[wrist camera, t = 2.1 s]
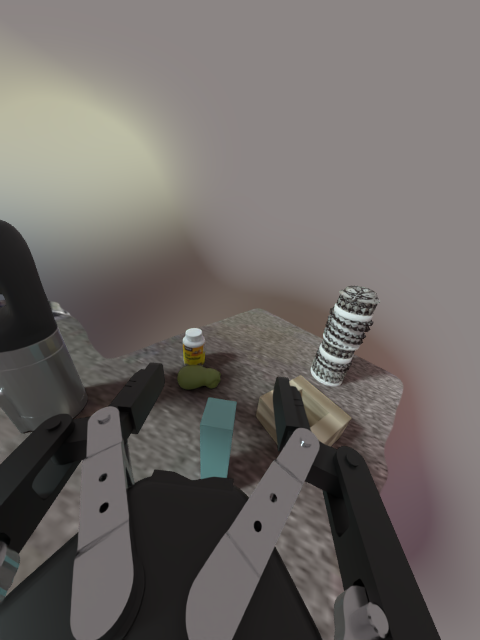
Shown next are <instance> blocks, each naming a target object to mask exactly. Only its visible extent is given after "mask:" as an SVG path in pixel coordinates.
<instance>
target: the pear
mask: <svg viewBox="0 0 480 640" xmlns="http://www.w3.org/2000/svg"><path fill="white" fill-rule="evenodd" d="M220 376H221V373H219V371H216V370H215V369H212V368H205V367H202V366H200V365H187V366H184V367H183V368H182V369H181V370H180V371H179V373H178V377H177V380H178V384H179V385H180V387H182V388H183V389H195V388H198V387H200V386H207V387H208V388H211V389H212V388H215V387H217V385H218V383H219V382H220Z"/></svg>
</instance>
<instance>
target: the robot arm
mask: <svg viewBox="0 0 480 640" xmlns="http://www.w3.org/2000/svg"><path fill="white" fill-rule="evenodd" d="M0 294H3V296H4V298H5V300H6V304H7V305H5V306H4V307H1V308H0V407H1V408H2V409H3V411H4V412H5V413H6V415H7V416H8V417H9V418H10V420H11V421H12V422H13V424H14V425H15V426H16V427H17V429H18V430H19V431H20V432H21V433H24V432H27V431H33V432H32V433H31V434H30V435H29V436H28V437H27V438H26V439H25V440H24V441H23V442H22V443H21V444H20V445H19V446H18V447H17V448H16V449H15V450H14V451H13V452H12V453H11V454H10V455H9V456H8V457H7V458H6V459H5V460H4V461H3V462H2V463H1V464H0V640H322V638H321V635H320V633H319V631H318V629H317V627H316V625H315V623H314V621H313V619H312V617H311V615H310V613H309V611H308V609H307V607H306V605H305V603H304V601H303V599H302V597H301V596H300V594H299V592H298V590H297V588H296V586H295V584H294V582H293V580H292V578H291V576H290V574H289V572H288V570H287V568H286V566H285V564H284V562H283V561H282V559H281V557H280V555H279V553H278V551H277V549H276V547H275V545H276V542H277V540H278V538H279V536H280V534H281V532H282V529H283V527H284V525H285V523H286V521H287V518H288V516H289V514H290V512H291V510H292V508H293V505H294V503H295V501H296V499H297V497H298V495H299V492H300V490H301V488H302V486H303V483H304V481H306V482H308V483H310V484H312V485H314V486H316V487H318V488H320V489H322V490H323V495H324V499H325V504H326V509H327V513H328V518H329V523H330V527H331V532H332V536H333V541H334V546H335V550H336V555H337V560H338V564H339V569H340V574H341V578H342V583H343V588H344V592H343V593H341V594H340V595H339V596H338V597H337V599H336V600H335V604H334V625H335V635H334V640H441V639H440V636H439V634H438V632H437V629H436V627H435V625H434V622H433V620H432V617H431V615H430V613H429V611H428V608H427V606H426V603H425V601H424V599H423V596H422V594H421V592H420V589H419V587H418V585H417V582H416V580H415V578H414V575H413V573H412V570H411V568H410V566H409V563H408V561H407V559H406V556H405V554H404V552H403V549H402V547H401V544H400V542H399V540H398V537H397V535H396V533H395V530H394V528H393V526H392V523H391V521H390V518H389V516H388V514H387V512H386V509H385V507H384V505H383V502H382V500H381V497H380V495H379V493H378V490H377V488H376V485H375V483H374V481H373V478H372V476H371V474H370V471H369V469H368V467H367V464H366V462H365V460H364V459H363V457H362V456H361V455H360V454H359V453H358V452H357V451H356V450H354V449H352V448H350V447H347V446H341V447H339V448H338V449H335V448H332V447H330V446H328V445H325V444H323V443H322V442H320V441H319V440H318V439H317V437H316V436H315V434H314V433H312V431H311V429H310V425H309V422H308V418H307V415H306V411H305V408H304V404H303V401H302V397H301V393H300V392H299V390H298V389H297V388H296V386H290V383H289V379H288V378H286V377H277V378H276V382H275V386H274V391H273V408H274V417H275V426H276V435H277V444H278V451H281V453H280V455H279V456H278V458H277V459H276V460H274V461H273V462H272V464H271V465H270V467H269V468H268V470H267V471H266V473H265V474H264V476H263V477H262V479H261V481H260V482H259V484H258V485H257V487H256V488H255V490H254V491H253V493H252V495H251V496H250V498H249V497H248V496H247V495H246V494H245V493H244V492H243V491H242V490H240V489H239V488H237V487H236V486H234V485H233V479H231V478H223V477H209V478H204V479H199V480H190V479H188V478H186V477H184V476H182V475H180V474H177V473H175V472H172V471H163V470H154V472H153V475H152V476H151V477H147V478H144V479H142V480H140V481H138V482H136V483H135V482H134V478H133V473H132V467H131V460H130V453H129V446H128V440H127V439H128V438H129V436H130V434H131V433H132V434H138V433H139V431H140V429H141V427H142V426H143V424H144V422H145V420H146V418H147V416H148V415H149V413H150V411H151V409H152V407H153V406H154V404H155V402H156V400H157V398H158V397H159V395H160V393H161V391H162V389H163V387H164V383H165V378H164V370H163V365H162V364H161V363H149V365H148V366H147V367H146V369H145V370H144V369H141V370H139V371H138V372H137V373H135V374H134V375H133V376H132V377H131V379H130V380H129V382H127V384H126V385H125V387H123V389H122V390H121V391H120V392H119V394H118V395H117V396H116V397H115V399H114V400H113V401H112V402H111V404H110V405H109V406H108V407H105V408H102V409H100V410H98V411H96V412H95V413H94V414H93V415H92V416H90V417H85V418H79V419H73V418H74V417H75V416H76V415H78V414H79V413H80V412H81V411H82V409H83V408H84V407H85V405H86V403H87V399H88V397H87V393H86V391H85V388H84V386H83V384H82V382H81V379H80V377H79V375H78V372H77V370H76V368H75V365H74V363H73V361H72V358H71V356H70V354H69V351H68V349H67V347H66V345H65V342H64V340H63V338H62V335H61V333H60V331H59V328H58V326H57V323H56V321H55V319H54V316H53V313H52V310H51V307H50V304H49V302H48V299H47V297H46V294H45V292H44V289H43V286H42V283H41V281H40V278H39V275H38V272H37V269H36V265H35V262H34V260H33V257H32V255H31V252H30V249H29V248H28V245H27V243H26V242H25V240H24V238H23V237H22V235H21V234H20V233H19V232H18V231H17V230H16V229H15V228H14V227H13V226H12V225H11V224H9V223H7V222H5V221H2V220H0ZM81 460H83V462H82V475H81V495H80V514H79V532H78V533H77V534H76V535H74V536H73V537H72V538H71V539H70V540H69V541H68V542H66V543H65V544H64V545H63V546H62V547H61V548H60V549H59V550H57V551H56V552H55V553H54V554H53V555H52V556H51V557H50V558H48V559H47V560H46V561H45V562H44V563H43V564H42V565H41V566H39V567H38V568H37V569H36V570H35V571H34V572H33V573H31V574H30V575H29V576H28V577H27V578H26V579H25V580H24V581H22V582H21V583H20V584H19V585H18V586H17V587H16V588H15V589H14V590H12V591H11V592H10V593H9V594H8V595H7V596H6V593H7V591H8V589H9V588H10V587H11V585H12V583H13V579H14V576H15V574H16V572H17V570H18V567H19V563H20V556H19V553H20V551H21V550H22V548H23V547H24V545H25V544H26V542H27V541H28V539H29V538H30V536H31V535H32V533H33V532H34V530H35V529H36V527H37V526H38V524H39V523H40V521H41V520H42V518H43V517H44V515H45V514H46V512H47V511H48V509H49V508H50V506H51V505H52V503H53V502H54V500H55V499H56V497H57V496H58V494H59V493H60V491H61V490H62V489H63V487H64V486H65V484H66V483H67V481H68V480H69V478H70V477H71V475H72V474H73V472H74V471H75V469H76V468H77V466H78V465H79V463H80V462H81ZM5 596H6V597H5Z"/></svg>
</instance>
